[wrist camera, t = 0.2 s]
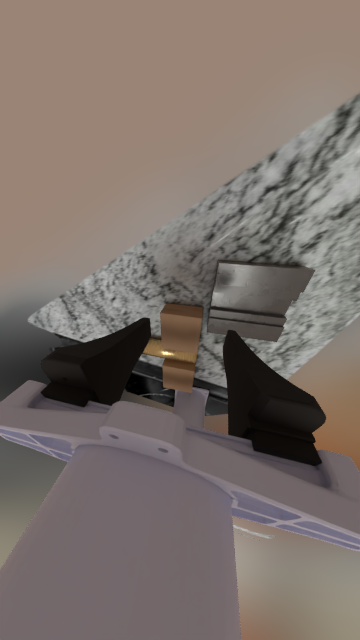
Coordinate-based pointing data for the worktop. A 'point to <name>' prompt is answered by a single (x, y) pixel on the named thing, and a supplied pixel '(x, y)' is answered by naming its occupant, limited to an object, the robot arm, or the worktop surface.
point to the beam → (180, 343)
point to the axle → (167, 352)
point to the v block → (254, 298)
